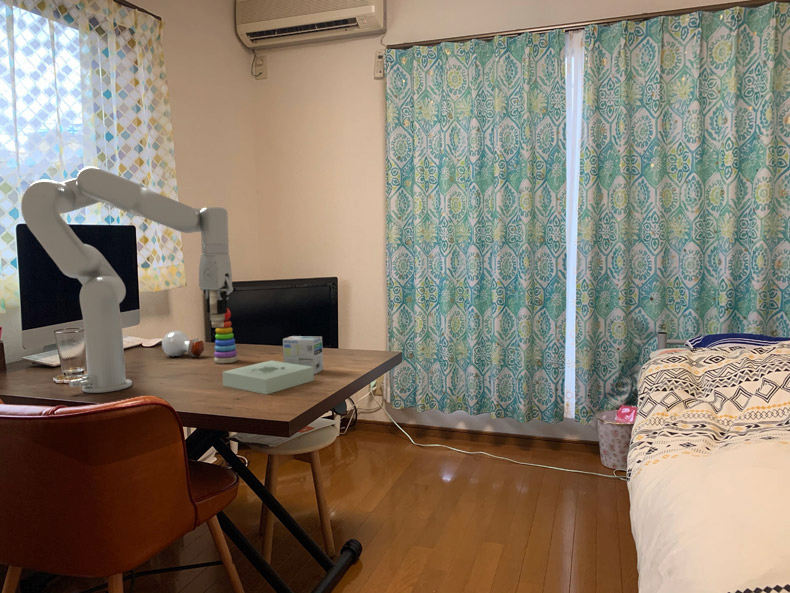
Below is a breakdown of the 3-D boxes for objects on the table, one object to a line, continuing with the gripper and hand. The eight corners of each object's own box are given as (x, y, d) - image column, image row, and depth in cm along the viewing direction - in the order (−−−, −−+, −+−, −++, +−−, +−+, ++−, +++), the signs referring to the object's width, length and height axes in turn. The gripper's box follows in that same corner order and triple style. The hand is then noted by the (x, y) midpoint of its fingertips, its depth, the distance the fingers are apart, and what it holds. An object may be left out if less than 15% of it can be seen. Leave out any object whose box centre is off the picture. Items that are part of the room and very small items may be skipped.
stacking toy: (241, 359, 201) (239, 305, 199) (233, 364, 193) (230, 308, 191) (219, 359, 201) (217, 306, 200) (210, 364, 193) (207, 308, 192)
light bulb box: (324, 369, 181) (323, 335, 180) (315, 374, 175) (314, 339, 174) (292, 368, 184) (291, 335, 183) (283, 373, 178) (281, 338, 177)
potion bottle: (166, 358, 212) (200, 365, 207) (151, 347, 204) (185, 354, 199) (178, 336, 216) (211, 342, 211) (163, 324, 208) (197, 330, 203)
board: (266, 394, 153) (265, 379, 152) (223, 385, 163) (222, 371, 163) (313, 380, 167) (313, 366, 167) (271, 373, 178) (270, 360, 178)
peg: (216, 328, 167) (214, 286, 166) (207, 327, 170) (206, 286, 168) (227, 326, 170) (226, 286, 169) (219, 325, 173) (217, 285, 172)
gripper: (186, 250, 170) (188, 312, 171) (222, 250, 160) (224, 316, 162) (208, 250, 176) (210, 309, 178) (244, 250, 166) (246, 313, 168)
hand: (217, 312), depth 170 cm, fingers closed on peg, 4 cm apart
